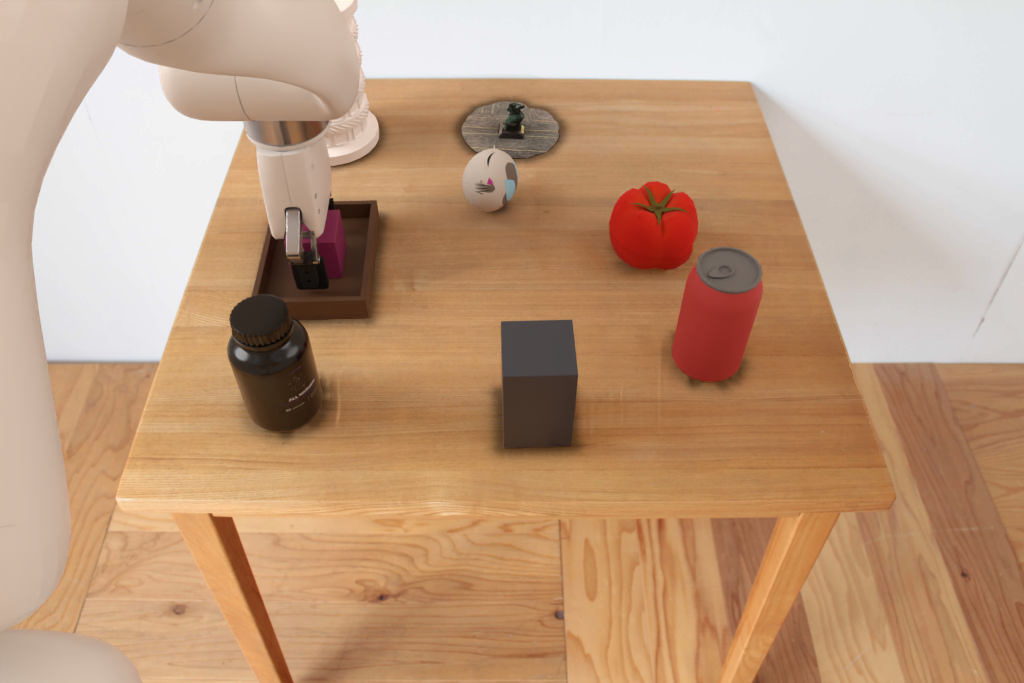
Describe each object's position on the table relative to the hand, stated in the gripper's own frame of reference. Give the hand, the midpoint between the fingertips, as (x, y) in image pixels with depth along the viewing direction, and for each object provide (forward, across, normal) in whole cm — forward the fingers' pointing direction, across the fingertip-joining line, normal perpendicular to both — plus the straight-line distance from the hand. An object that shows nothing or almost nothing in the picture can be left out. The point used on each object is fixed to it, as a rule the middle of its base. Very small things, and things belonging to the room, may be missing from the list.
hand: (318, 256), depth 89 cm
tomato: (+2, -1, +35) cm, 35 cm away
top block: (+1, 0, 0) cm, 1 cm away
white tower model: (+2, -23, -1) cm, 23 cm away
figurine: (+2, -9, +18) cm, 20 cm away
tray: (+2, 0, 0) cm, 2 cm away
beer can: (+2, +14, +38) cm, 41 cm away
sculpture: (+2, -24, +21) cm, 32 cm away
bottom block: (+2, +20, +22) cm, 30 cm away
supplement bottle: (+2, +18, -1) cm, 18 cm away
